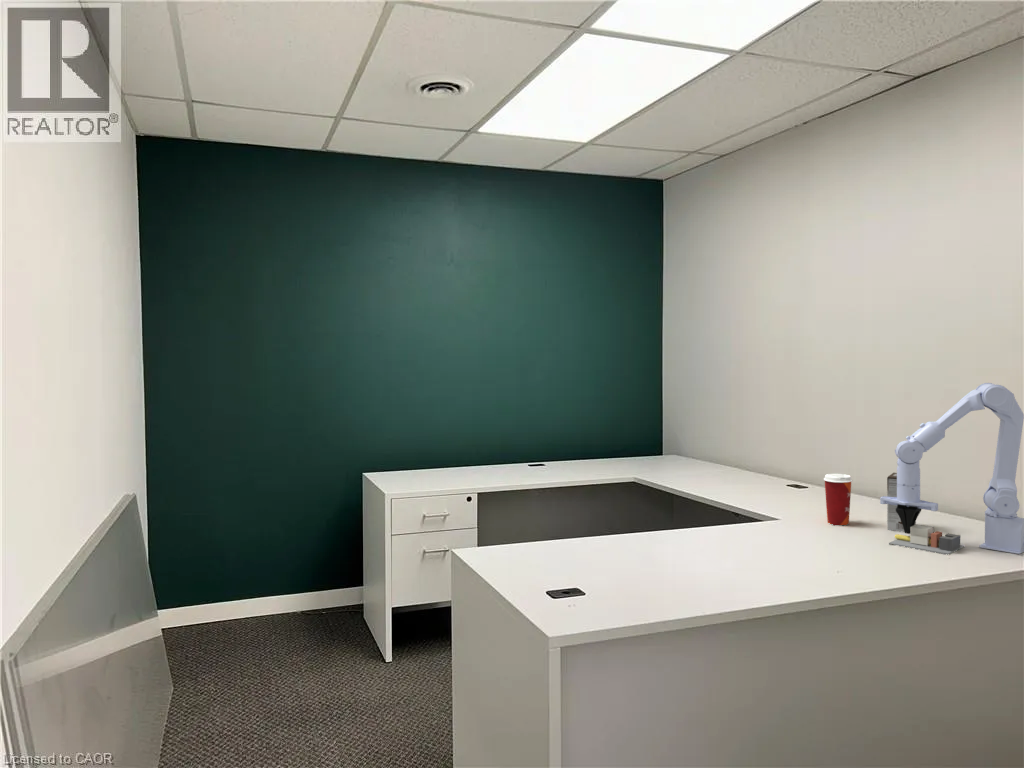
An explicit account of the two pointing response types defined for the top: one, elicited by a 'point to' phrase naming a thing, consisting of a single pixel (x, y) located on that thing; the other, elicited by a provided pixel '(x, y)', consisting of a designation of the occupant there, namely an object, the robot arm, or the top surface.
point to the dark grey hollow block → (949, 542)
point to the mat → (921, 546)
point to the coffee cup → (838, 498)
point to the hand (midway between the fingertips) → (908, 532)
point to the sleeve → (921, 534)
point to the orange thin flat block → (935, 538)
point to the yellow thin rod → (906, 538)
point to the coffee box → (892, 515)
